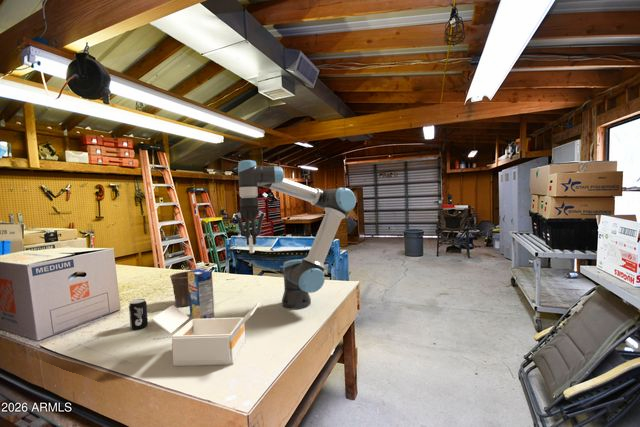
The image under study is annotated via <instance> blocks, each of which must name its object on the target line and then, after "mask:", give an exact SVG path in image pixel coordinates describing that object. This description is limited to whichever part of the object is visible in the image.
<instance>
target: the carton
mask: <svg viewBox="0 0 640 427" xmlns="http://www.w3.org/2000/svg"><path fill="white" fill-rule="evenodd" d="M244 317H245V316H244ZM244 317H241V316H240V317H216V318H215V317H213V318H207V319H194V318H192V319H190V320H189V321H188V322H187V323H186V324H185V325H183V327H181V328H179V330H177V332H175V333H174V334H173V335H171V350H172V361H173V367H184V366H185V367H187V366H191V367H192V366H194V367H195V366H220V365H221V366H225V365H226V366H227V365H229V366H230V365H231V366H232V365H234V363H235V362H236V360H237V358H239V355H240V353H241V352H242V350H243V348H244V346H245V344H246V330H245V329H246V328H245V323H244V324H243V325H242V326H241V327H240V328H239V329H238V330H237V331H236V332H234V330H235V329H236V328H237V326H238V325H239V323H240V322H241V321H242V319H243V318H244Z"/></svg>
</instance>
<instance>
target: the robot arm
mask: <svg viewBox="0 0 640 427" xmlns="http://www.w3.org/2000/svg"><path fill="white" fill-rule="evenodd" d="M237 164H238V165H237V168H238V169H237V170H238V171H237V175H238V186H239V188H238V189H239V192H238V193H239V197H240V199H239V207H240V209H239V211H238V213H236V214H234V218H235V219H236V221H237V224H238V227H239V230H240V233H241V236H242V237H245V238H246V245H247V246H248V249H249V254H254V253H255V250H256V249H255V245H257V237H258V236H260V235H261V232H262V227H263V221H264V218H265V216H266V213H265V212H263V211H261V209H260V208H259V197H258V196H259V194H258V193H259V191H258V187H263V188H266V189H270V190H273V191H275V192H278V193H281V194H284V195H287V196H290V197H294V198H297V199H300V200H303V201H306V202H309V203H310V204H311V205H312V206H315V207H318V208H320V209H323V210H324V212H325V214H324V216H323V219H322V221H321V223H320V226H319V229H318V230H317V232H316V235H315V237H314V240H313V242H312V244H311V247H310V249H309V252H308V254H307V256H306V257H304V258H301V259H300V258H299V259H298V258H297V259H291V260H286V261H284V262H283V268H282V269H283V281H284V282H283V284H284V292H283V294H282V299H281V306H282V307H283V308H284V309H288V310H299V309H304V308H307V307H309V306H310V305H311V303H312V299H311V296H310V294H312V293H316V292H318V291H319V290H320V289H322V287H323V286H324V284H325V280H326V279H325V274H324V271H325V270H326V267H325V265H324V264H325V260H326V259H327V256H328V254H329V251H330V249H331V246H332V243H333V241H334V240H335V239H334V238H335V236H336V234H337V231H338V229H339V226H340V224H341V222H342V220H343V219H346V217H347V215H348V213H349V212H351V211H353V209H354V208H355V206H356V204H357V199H356V198H357V197H356V196H355V194H354V192H353V190H351V189H350V188H347V187H338V188H331V189H322V188H319V187H315V188H313V187H311V186H308V185H305V184H303V183H300V182H297V181H294V180H292V179H289V178H286V177H285V173H284V172H285V171H284V169H283V168H282V167H281V166H276V165H274V166H273V165H267V166H266V165H257V162H256V160H251V159H247V160H246V159H245V160H240V161H239V162H238V163H237ZM258 216H259V218H258V222H257V223H256V221H257V219H256V218H257V217H258ZM242 217H243V219H244V223H245V226H244V223H243V220H242ZM250 223H251V225H250ZM256 224H257V225H256ZM256 227H257V228H256Z"/></svg>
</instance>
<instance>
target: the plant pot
mask: <svg viewBox="0 0 640 427" xmlns="http://www.w3.org/2000/svg"><path fill="white" fill-rule="evenodd" d="M187 271H188V270H187ZM187 271H186V270H185V271H181V272H176V273H173V274H171V275H170V276H169V278H170V279H171V280H170V281H171V284H172V288H173V290H172V291H173V295H174V303H175V306H177V307H190V304H189V287H188V272H187Z"/></svg>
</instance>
